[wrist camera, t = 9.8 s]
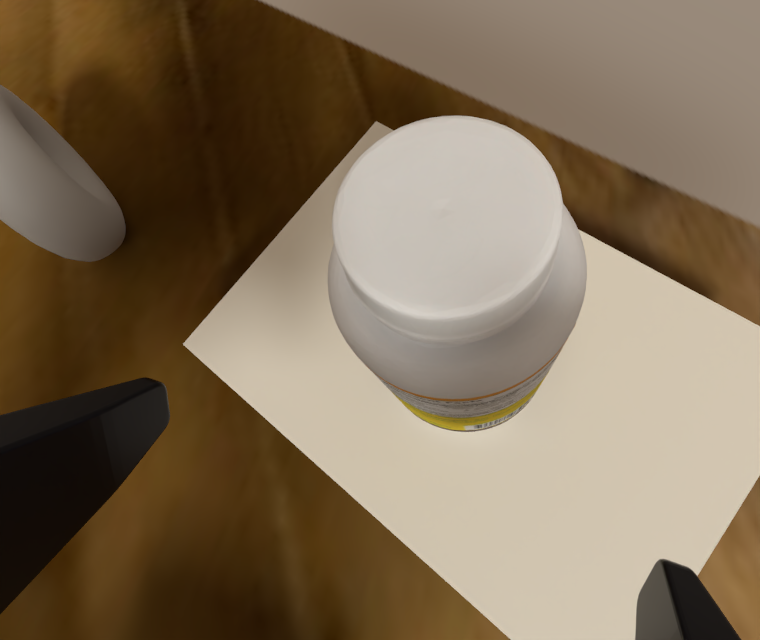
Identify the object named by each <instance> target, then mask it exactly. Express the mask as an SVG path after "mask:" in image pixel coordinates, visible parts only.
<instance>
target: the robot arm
mask: <svg viewBox="0 0 760 640" xmlns="http://www.w3.org/2000/svg"><path fill="white" fill-rule="evenodd" d="M169 419H170V412H169V404H168V396H167V389H166V386H165V385H164V384H163V383H162V382H159V381H156V380H153V379H150V378H140V379H136V380H132V381H128V382H125V383H121V384H117V385H113V386H109V387H106V388H102V389H98V390H94V391H91V392H87V393H83V394H79V395H75V396H72V397H68V398H64V399H60V400H57V401H53V402H49V403H45V404H41V405H38V406H34V407H30V408H26V409H23V410H19V411H15V412H11V413H7V414H4V415H0V614H1V613H2V612H3V611H4V610H5V609H6V608H7V607H8V605H9V604H10V603H11V602H12V601H13V600H14V599H15V598H16V597H17V596H18V595H19V594H20V593H21V592H22V591H23V590H24V588H25V587H26V586H27V585H28V584H29V583H30V582H31V581H32V580H33V579H34V578H35V577H36V576H37V575H38V574H39V573H40V571H41V570H42V569H43V568H44V567H45V566H46V565H47V564H48V563H49V562H50V561H51V560H52V559H53V558H54V557H55V555H56V554H57V553H58V552H59V551H60V550H61V549H62V548H63V547H64V546H65V545H66V544H67V543H68V542H69V541H70V540H71V538H72V537H73V536H74V535H75V534H76V533H77V532H78V531H79V530H80V529H81V528H82V527H83V526H84V525H85V524H86V523H87V521H88V520H89V519H90V518H91V517H92V516H93V515H94V514H95V513H96V512H97V511H98V510H99V509H100V508H101V507H102V506H103V504H104V503H105V502H106V501H107V500H108V499H109V498H110V497H111V496H112V495H113V494H114V492H115V491H116V490H117V489H118V488H119V487H120V485H121V484H122V483H123V482H124V480H125V479H126V478H127V477H128V475H129V474H130V473H131V472H132V470H133V469H134V468H135V467H136V465H137V464H138V463H139V461H140V460H141V459H142V458H143V456H144V455H145V454H146V452H147V451H148V450H149V449H150V447H151V446H152V445H153V444H154V442H155V441H156V440H157V438H158V437H159V436H160V435H161V433H162V432H163V431H164V429H165V428H166V426H167V425H168V422H169ZM635 640H741V639H740V637H739V636H738V634H737V633H736V631H735V630H734V629H733V627H732V626H731V624H730V623H729V621H728V620H727V618H726V617H725V616H724V614H723V613H722V611H721V610H720V608H719V607H718V605H717V604H716V603H715V601H714V600H713V598H712V597H711V595H710V594H709V593H708V591H707V590H706V588H705V587H704V585H703V584H702V582H701V581H700V580H699V578H698V577H697V575H696V574H695V573H694V572H693V571H692V570H691V569H690V568H689V567H687V566H684V565H681V564H678V563H675V562H673V561H670V560H667V559H659V560H658V561H657V562H656V563H655V565H654V567H653V568H652V570H651V572H650V574H649V576H648V577H647V579H646V581H645V583H644V585H643V586H642V588H641V590H640V592H639V595H638V599H637V607H636V632H635Z"/></svg>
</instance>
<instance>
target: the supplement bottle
mask: <svg viewBox="0 0 760 640" xmlns="http://www.w3.org/2000/svg"><path fill="white" fill-rule="evenodd" d="M332 234H333V241H334V244H333V247H332V251H331V255H330V260H329V265H328V293H329V300H330V305H331V309H332V313H333V316H334V319H335V321H336V324H337V326H338V328H339V330H340V332H341V334H342V335H343V337H344V339H345V341H346V342H347V344H348V345H349V346H350V348H351V349H352V350H353V352H354V353H355V354H356V356H357V357H358V358H359V359H360V360H361V361H362V362H363V363H364V364H365V365H366V366H367V367H368V368H369V369H370V370H371V371H372V372H373V373H374V374H375V375H376V376H377V377H378V379H379V380H380V381H381V382H382V383H383V384H384V385H385V386H386V387H387V388H388V389H389V390H390V391H391V392H392V393H393V394H394V395H395V396H396V397H397V398H398V399H399V400H400V401H401V402H402V404H403V405H404V406H405V407H406V408H407V409H408V410H410V411H411V412H412V413H413V414H414V415H415V416H417V417H419V418H420V419H422V420H423V421H425V422H427V423H429V424H431V425H433V426H436V427H439V428H442V429H446V430H450V431H457V432H475V431H481V430H486V429H489V428H493V427H495V426H498V425H500V424H502V423H504V422H506V421H508V420H510V419H511V418H512V417H514V416H515V415H516V414H518V413H519V412H520V411H521V410H522V409H523V408H524V407H525V406H526V405H527V404H528V403H529V402H530V401H531V399H532V398H533V396H534V395H535V393H536V392H537V390H538V388H539V387H540V385H541V384H542V382H543V380H544V379H545V377H546V375H547V374H548V373H549V370H550V369H551V367H552V365H553V363H554V362H555V360H556V359H557V357H558V355H559V353H560V352H561V350H562V348H563V346H564V344H565V342H566V341H567V339H568V337H569V335H570V334H571V332H572V330H573V328H574V327H575V324H576V321H577V319H578V316H579V313H580V310H581V307H582V304H583V301H584V296H585V291H586V281H587V262H586V255H585V250H584V246H583V241H582V239H581V236H580V233H579V231H578V228H577V226H576V224H575V222H574V220H573V218H572V216H571V215H570V213H569V211H568V210H567V208H566V207H565V205H564V204H563V201H562V195H561V190H560V186H559V183H558V180H557V178H556V175H555V173H554V171H553V169H552V167H551V165H550V164H549V163H548V161H547V160H546V158H545V157H544V156H543V154H542V153H541V152H540V151H539V150H538V149H537V148H536V147H535V146H534V145H533V144H532V143H531V142H530V141H529V140H528V139H526V138H525V137H524V136H522V135H521V134H519V133H517V132H516V131H514V130H512V129H511V128H509V127H506V126H504V125H502V124H499V123H496V122H493V121H491V120H486V119H481V118H476V117H471V116H441V117H433V118H428V119H423V120H420V121H416V122H413V123H410V124H408V125H405V126H403V127H400V128H398V129H396V130H394V131H392V132H391V133H389V134H387V135H386V136H384V137H382V138H381V139H379V140H378V141H376V142H375V143H374V144H373V145H372V146H370V147H369V148H368V149H367V150H366V151H365V152H364V153H363V154H362V155H361V156H360V157H359V158H358V159H357V160H356V162H355V163H354V164H353V166H352V167H351V168H350V170H349V171H348V173H347V174H346V176H345V177H344V179H343V181H342V183H341V185H340V187H339V189H338V193H337V196H336V199H335V204H334V209H333V213H332Z"/></svg>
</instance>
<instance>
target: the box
mask: <svg viewBox="0 0 760 640" xmlns="http://www.w3.org/2000/svg"><path fill="white" fill-rule="evenodd" d="M392 131H394V130H392V129H390V128H388V127H386V126H384V125H382V124H381V123H379V122H377V121H376V122H375V123H374V124H373V125H372V127H371V128H370V129H369V130H368V131H367V132H366V133H365V135H364V136H363V137H362V138H361V139H360V140H359V142H358V143H357V144H356V145H355V146H354V147H353V148H352V150H351V151H350V152H349V153H348V154H347V155H346V157H345V158H344V159H343V160H342V161H341V162H340V163H339V165H338V166H337V167H336V168H335V169H334V170H333V172H332V173H331V174H330V175H329V176H328V177H327V178H326V180H325V181H324V182H323V183H322V184H321V185H320V187H319V188H318V189H317V190H316V191H315V192H314V193H313V195H312V196H311V197H310V198H309V199H308V200H307V202H306V203H305V204H304V205H303V206H302V207H301V208H300V210H299V211H298V212H297V213H296V214H295V215H294V217H293V218H292V219H291V220H290V221H289V222H288V223H287V225H286V226H285V227H284V228H283V229H282V230H281V232H280V233H279V234H278V235H277V236H276V237H275V238H274V240H273V241H272V242H271V243H270V244H269V245H268V247H267V248H266V249H265V250H264V251H263V252H262V253H261V255H260V256H259V257H258V258H257V259H256V260H255V261H254V263H253V264H252V265H251V266H250V267H249V268H248V270H247V271H246V272H245V273H244V274H243V275H242V276H241V278H240V279H239V280H238V281H237V282H236V283H235V285H234V286H233V287H232V288H231V289H230V290H229V291H228V293H227V294H226V295H225V296H224V297H223V298H222V300H221V301H220V302H219V303H218V304H217V305H216V306H215V308H214V309H213V310H212V311H211V312H210V313H209V315H208V316H207V317H206V318H205V319H204V320H203V321H202V323H201V324H200V325H199V326H198V327H197V328H196V330H195V331H194V332H193V333H192V334H191V335H190V336H189V338H188V339H187V340H186V341H185V342H184V343H183V345H184V346H185V347H186V348H188V349H189V350H190V351H191V352H192V353H193V354H194V355H195V356H196V357H198V358H199V359H200V360H201V361H202V362H203V363H204V364H205V365H206V366H208V367H209V368H210V369H211V370H212V371H213V372H214V373H215V374H216V375H218V376H219V377H220V378H221V379H222V380H223V381H224V382H225V383H226V384H228V385H229V386H230V387H231V388H232V389H233V390H234V391H235V392H236V393H238V394H239V395H240V396H241V397H242V398H243V399H244V400H245V401H246V402H248V403H249V404H250V405H251V406H252V407H253V408H254V409H255V410H256V411H258V412H259V413H260V414H261V415H262V416H263V417H264V418H265V419H266V420H268V421H269V422H270V423H271V424H272V425H273V426H274V427H275V428H276V429H278V430H279V431H280V432H281V433H282V434H283V435H284V436H285V437H286V438H288V439H289V440H290V441H291V442H292V443H293V444H294V445H295V446H296V447H298V448H299V449H300V450H301V451H302V452H303V453H304V454H305V455H306V456H308V457H309V458H310V459H311V460H312V461H313V462H314V463H315V464H316V465H318V466H319V467H320V468H321V469H322V470H323V471H324V472H325V473H326V474H328V475H329V476H330V477H331V478H332V479H333V480H334V481H335V482H336V483H338V484H339V485H340V486H341V487H342V488H343V489H344V490H345V491H346V492H348V493H349V494H350V495H351V496H352V497H353V498H354V499H355V500H356V501H358V502H359V503H360V504H361V505H362V506H363V507H364V508H365V509H366V510H368V511H369V512H370V513H371V514H372V515H373V516H374V517H375V518H376V519H378V520H379V521H380V522H381V523H382V524H383V525H384V526H385V527H386V528H388V529H389V530H390V531H391V532H392V533H393V534H394V535H395V536H396V537H398V538H399V539H400V540H401V541H402V542H403V543H404V544H405V545H406V546H408V547H409V548H410V549H411V550H412V551H413V552H414V553H415V554H416V555H418V556H419V557H420V558H421V559H422V560H423V561H424V562H425V563H426V564H428V565H429V566H430V567H431V568H432V569H433V570H434V571H435V572H436V573H438V574H439V575H440V576H441V577H442V578H443V579H444V580H445V581H446V582H448V583H449V584H450V585H451V586H452V587H453V588H454V589H455V590H456V591H458V592H459V593H460V594H461V595H462V596H463V597H464V598H465V599H466V600H468V601H469V602H470V603H471V604H472V605H473V606H474V607H475V608H476V609H478V610H479V611H480V612H481V613H482V614H483V615H484V616H485V617H486V618H488V619H489V620H490V621H491V622H492V623H493V624H494V625H495V626H496V627H498V628H499V629H500V630H501V631H502V632H503V633H504V634H505V635H506V636H508V637H509V638H510V639H511V640H635V632H636V607H637V599H638V595H639V592H640V590H641V588H642V586H643V585H644V583H645V581H646V579H647V577H648V576H649V574H650V572H651V570H652V568H653V567H654V565H655V563H656V562H657V561H658V560H659V559H667V560H670V561H673V562H675V563H678V564H681V565H684V566H687V567H689V568H690V569H691V570H692V571H693V572H694V573H695V574H696V575H697V576H698V574H699V573H700V571H701V569H702V568H703V566H704V564H705V563H706V561H707V560H708V558H709V556H710V555H711V553H712V552H713V550H714V548H715V547H716V545H717V543H718V542H719V540H720V539H721V537H722V535H723V534H724V532H725V531H726V529H727V527H728V526H729V524H730V522H731V521H732V519H733V518H734V516H735V514H736V513H737V511H738V509H739V508H740V506H741V505H742V503H743V501H744V500H745V498H746V497H747V495H748V493H749V492H750V490H751V488H752V487H753V485H754V484H755V482H756V480H757V479H758V477H759V476H760V326H758V325H756V324H754V323H752V322H751V321H749V320H747V319H745V318H743V317H741V316H739V315H738V314H736V313H734V312H732V311H730V310H728V309H726V308H724V307H723V306H721V305H719V304H717V303H715V302H713V301H711V300H710V299H708V298H706V297H704V296H702V295H700V294H698V293H696V292H695V291H693V290H691V289H689V288H687V287H685V286H683V285H681V284H680V283H678V282H676V281H674V280H672V279H670V278H668V277H667V276H665V275H663V274H661V273H659V272H657V271H655V270H653V269H652V268H650V267H648V266H646V265H644V264H642V263H640V262H638V261H637V260H635V259H633V258H631V257H629V256H627V255H625V254H624V253H622V252H620V251H618V250H616V249H614V248H612V247H610V246H609V245H607V244H605V243H603V242H601V241H599V240H597V239H596V238H594V237H592V236H590V235H588V234H586V233H584V232H582V231H581V230H579V229H578V231H579V233H580V236H581V239H582V241H583V246H584V250H585V255H586V262H587V281H586V291H585V296H584V301H583V304H582V307H581V310H580V313H579V316H578V319H577V321H576V324H575V327H574V328H573V330H572V332H571V334H570V335H569V337H568V339H567V341H566V342H565V344H564V346H563V348H562V350H561V352H560V353H559V355H558V357H557V359H556V360H555V362H554V363H553V365H552V367H551V369H550V370H549V373H548V374H547V375H546V377H545V379H544V380H543V382H542V384H541V385H540V387H539V388H538V390H537V392H536V393H535V395H534V396H533V398H532V399H531V401H530V402H529V403H528V404H527V405H526V406H525V407H524V408H523V409H522V410H521V411H520V412H519V413H518V414H516V415H515V416H514V417H512V418H511V419H510V420H508V421H506V422H504V423H502V424H500V425H498V426H495V427H493V428H489V429H486V430H481V431H475V432H457V431H450V430H446V429H442V428H439V427H436V426H433V425H431V424H429V423H427V422H425V421H423V420H422V419H420V418H419V417H417V416H415V415H414V414H413V413H412V412H411V411H410V410H408V409H407V408H406V407H405V406H404V405H403V404H402V402H401V401H400V400H399V399H398V398H397V397H396V396H395V395H394V394H393V393H392V392H391V391H390V390H389V389H388V388H387V387H386V386H385V385H384V384H383V383H382V382H381V381H380V380H379V379H378V377H377V376H376V375H375V374H374V373H373V372H372V371H371V370H370V369H369V368H368V367H367V366H366V365H365V364H364V363H363V362H362V361H361V360H360V359H359V358H358V357H357V356H356V354H355V353H354V352H353V350H352V349H351V348H350V346H349V345H348V344H347V342H346V341H345V339H344V337H343V335H342V334H341V332H340V330H339V328H338V326H337V324H336V321H335V319H334V316H333V313H332V309H331V305H330V300H329V293H328V265H329V260H330V255H331V251H332V247H333V244H334V241H333V234H332V213H333V209H334V204H335V199H336V196H337V193H338V189H339V187H340V185H341V183H342V181H343V179H344V177H345V176H346V174H347V173H348V171H349V170H350V168H351V167H352V166H353V164H354V163H355V162H356V160H357V159H358V158H359V157H360V156H361V155H362V154H363V153H364V152H365V151H366V150H367V149H368V148H369V147H370V146H372V145H373V144H374V143H375V142H376V141H378V140H379V139H381V138H382V137H384V136H386V135H387V134H389V133H391V132H392Z"/></svg>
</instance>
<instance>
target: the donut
mask: <svg viewBox="0 0 760 640" xmlns="http://www.w3.org/2000/svg"><path fill="white" fill-rule="evenodd" d="M0 219H1V220H2V221H3V222H4V223H6V224H7V225H8V226H9V227H11V228H12V229H13V230H15V231H16V232H18V233H20V234H21V235H23V236H24V237H26V238H27V239H29V240H30V241H32V242H33V243H35V244H36V245H38V246H40V247H42V248H44V249H47V250H49V251H51V252H53V253H55V254H57V255H59V256H61V257H64V258H68V259H73V260H78V261H86V262H91V261H97V260H101V259H103V258H105V257H107V256H109V255H110V254H112V253H113V252H115V251H116V250H117V249H118V248H119V246H120V245H121V244H122V242H123V240H124V238H125V234H126V225H125V220H124V217H123V214H122V211H121V208H120V207H119V205H118V203H117V201H116V200H115V198H114V197H113V195H112V194H111V193H110V191H109V190H108V188H107V187H106V186H105V184H104V183H103V182H102V181H101V179H100V178H99V177H98V176H97V175H96V173H95V172H94V171H93V170H92V169H91V167H90V166H89V165H88V164H87V163H86V162H85V161H84V160H83V159H82V157H81V156H80V155H79V154H78V153H77V152H76V151H75V150H74V149H73V148H72V147H71V146H70V145H69V144H68V143H67V142H66V141H65V140H64V139H63V138H62V137H61V136H60V135H59V133H58V132H57V131H55V130H54V129H53V128H52V127H51V126H50V125H49V124H48V123H47V122H46V121H45V120H44V119H43V118H42V117H40V116H39V115H38V114H37V113H36V112H35V111H34V110H33V109H32V108H30V107H29V106H28V105H27V104H26V103H24V102H23V101H22V100H21V99H20V98H18V97H17V96H16V95H15V94H13V93H12V92H10V91H9V90H7V89H6V88H5V87H3V86H2V85H0Z"/></svg>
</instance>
